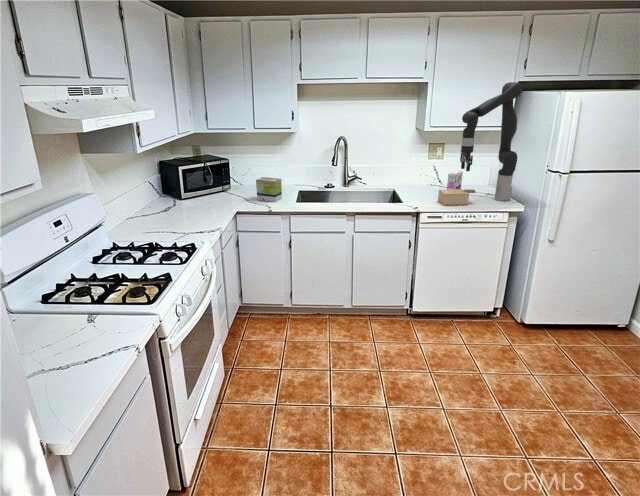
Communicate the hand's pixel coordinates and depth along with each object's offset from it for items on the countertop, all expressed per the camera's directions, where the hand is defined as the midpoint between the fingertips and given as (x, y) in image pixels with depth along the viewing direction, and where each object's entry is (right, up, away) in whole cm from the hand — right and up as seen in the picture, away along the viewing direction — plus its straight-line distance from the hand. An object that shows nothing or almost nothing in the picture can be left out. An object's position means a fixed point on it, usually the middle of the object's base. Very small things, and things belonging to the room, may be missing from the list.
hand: (465, 170), depth 269 cm
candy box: (+1, -13, +27) cm, 30 cm away
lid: (-4, -15, +3) cm, 15 cm away
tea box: (-131, -18, +18) cm, 133 cm away
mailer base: (-7, -21, +6) cm, 23 cm away
